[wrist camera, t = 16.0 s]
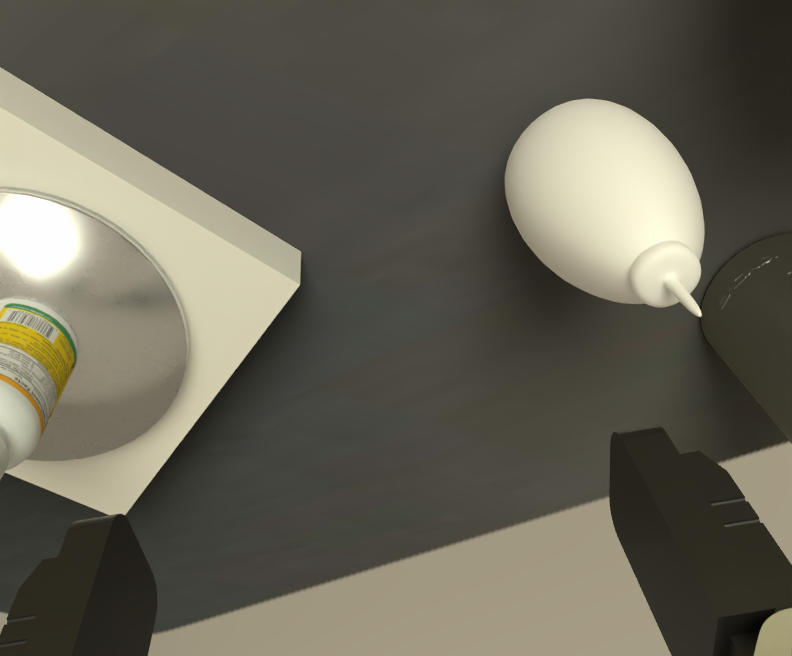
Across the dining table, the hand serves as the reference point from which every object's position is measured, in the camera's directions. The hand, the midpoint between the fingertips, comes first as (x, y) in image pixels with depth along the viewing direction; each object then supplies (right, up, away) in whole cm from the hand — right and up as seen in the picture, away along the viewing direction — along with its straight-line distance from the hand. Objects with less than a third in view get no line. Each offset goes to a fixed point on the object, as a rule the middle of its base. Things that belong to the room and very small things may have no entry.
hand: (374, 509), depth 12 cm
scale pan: (-19, +3, +27) cm, 33 cm away
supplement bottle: (-19, +2, +26) cm, 32 cm away
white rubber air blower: (+9, +13, +29) cm, 33 cm away
